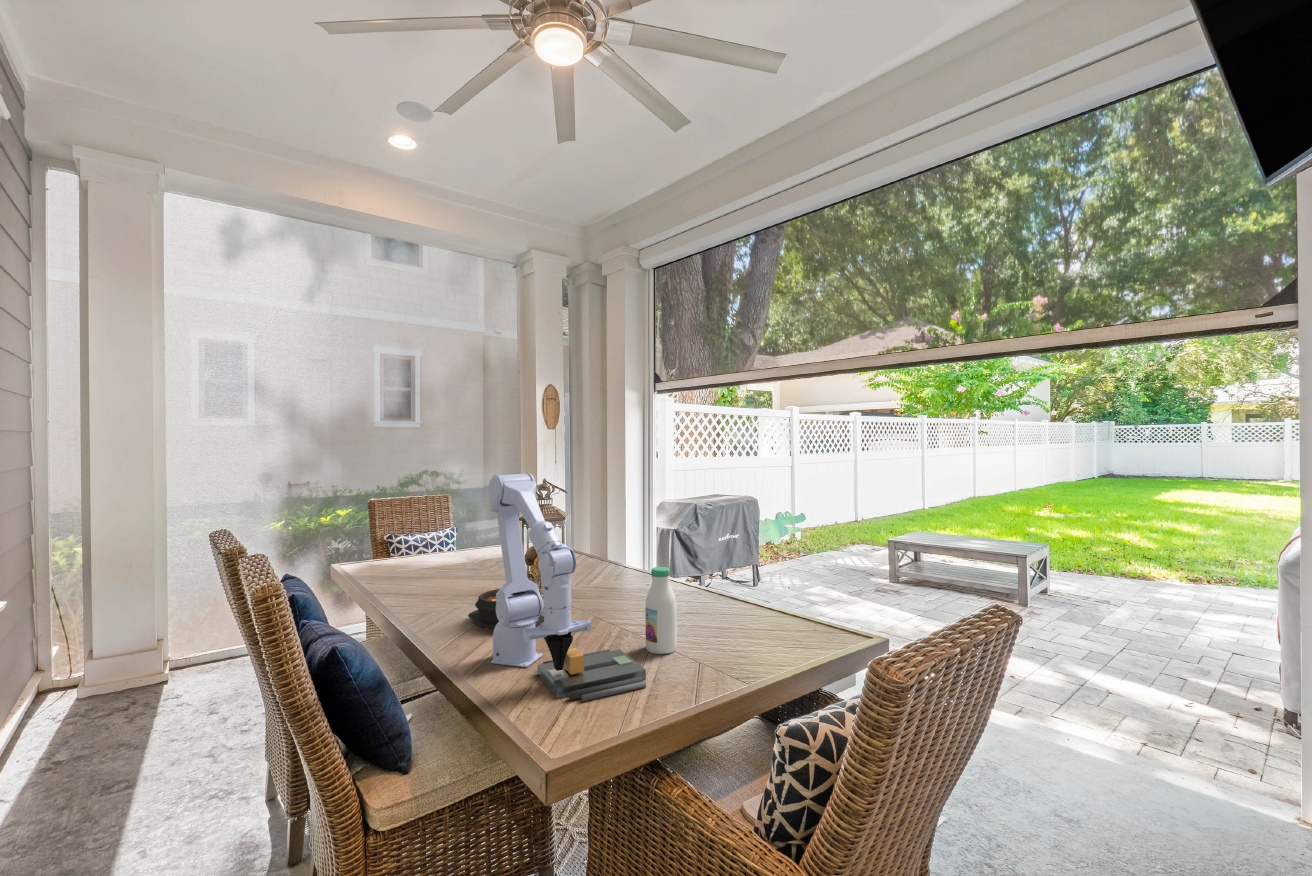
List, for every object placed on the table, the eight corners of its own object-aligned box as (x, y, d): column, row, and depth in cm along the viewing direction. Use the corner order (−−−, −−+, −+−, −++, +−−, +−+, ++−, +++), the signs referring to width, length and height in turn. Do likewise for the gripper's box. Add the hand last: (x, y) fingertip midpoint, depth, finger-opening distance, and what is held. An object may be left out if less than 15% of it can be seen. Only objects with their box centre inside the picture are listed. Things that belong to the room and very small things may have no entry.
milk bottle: (675, 643, 151) (675, 564, 151) (678, 654, 143) (677, 571, 143) (645, 644, 151) (644, 565, 151) (646, 655, 143) (645, 572, 143)
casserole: (561, 623, 168) (561, 593, 168) (508, 642, 153) (508, 609, 153) (505, 608, 183) (504, 581, 183) (451, 624, 169) (451, 594, 168)
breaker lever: (570, 674, 126) (570, 657, 126) (563, 666, 131) (562, 650, 131) (583, 671, 128) (583, 655, 128) (576, 663, 132) (575, 647, 132)
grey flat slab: (557, 698, 120) (556, 687, 120) (537, 673, 133) (537, 663, 133) (645, 678, 129) (645, 668, 129) (619, 657, 142) (619, 647, 142)
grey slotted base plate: (573, 704, 117) (573, 696, 117) (542, 667, 136) (542, 660, 136) (646, 688, 125) (646, 680, 125) (607, 655, 143) (607, 648, 143)
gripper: (529, 615, 121) (530, 682, 121) (596, 605, 127) (597, 668, 127) (520, 606, 127) (521, 670, 127) (584, 597, 133) (585, 657, 134)
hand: (558, 668), depth 128 cm, fingers closed
